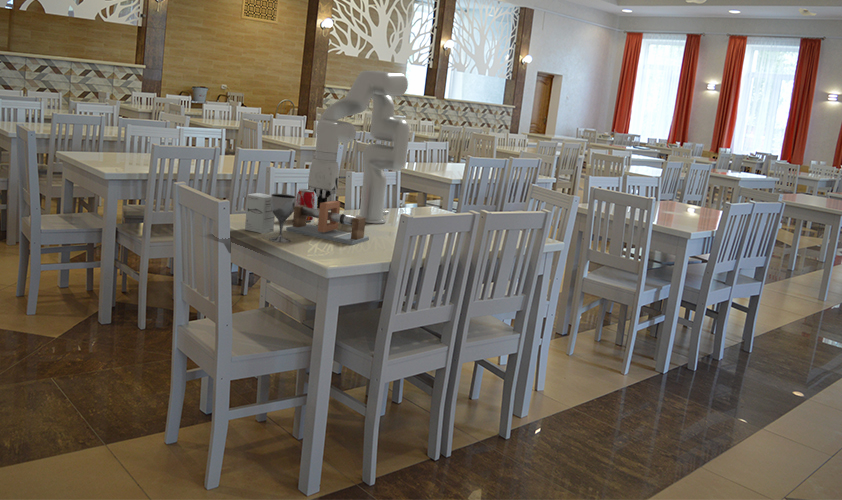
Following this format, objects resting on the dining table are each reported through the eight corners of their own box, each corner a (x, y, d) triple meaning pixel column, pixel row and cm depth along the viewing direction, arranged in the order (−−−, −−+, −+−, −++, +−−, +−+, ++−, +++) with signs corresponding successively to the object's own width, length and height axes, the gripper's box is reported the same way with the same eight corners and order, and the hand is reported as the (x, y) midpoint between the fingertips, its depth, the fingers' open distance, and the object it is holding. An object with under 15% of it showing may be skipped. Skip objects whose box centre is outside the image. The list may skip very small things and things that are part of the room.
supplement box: (244, 230, 232) (246, 194, 229) (256, 227, 239) (258, 192, 236) (262, 234, 229) (264, 197, 227) (274, 231, 236) (276, 195, 233)
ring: (317, 231, 235) (319, 203, 233) (332, 227, 244) (334, 200, 242) (323, 232, 234) (325, 204, 232) (337, 228, 243) (340, 201, 241)
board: (286, 230, 239) (286, 227, 239) (304, 226, 250) (304, 223, 250) (352, 244, 229) (352, 241, 229) (368, 240, 240) (369, 236, 240)
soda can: (309, 223, 257) (311, 192, 255) (291, 220, 258) (294, 189, 256) (315, 220, 264) (318, 190, 261) (298, 217, 265) (301, 187, 263)
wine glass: (270, 242, 218) (273, 197, 215) (265, 237, 225) (269, 193, 222) (294, 243, 222) (298, 198, 218) (289, 237, 229) (292, 194, 225)
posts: (292, 229, 242) (294, 206, 240) (300, 227, 247) (301, 205, 245) (356, 243, 233) (358, 219, 231) (363, 241, 237) (365, 217, 235)
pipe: (297, 215, 241) (298, 206, 240) (302, 214, 244) (303, 205, 244) (356, 227, 233) (356, 217, 232) (360, 226, 236) (361, 216, 235)
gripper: (302, 154, 234) (297, 205, 238) (339, 160, 229) (334, 213, 233) (313, 153, 241) (309, 203, 245) (349, 159, 235) (345, 210, 239)
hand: (321, 208), depth 239 cm, fingers closed
